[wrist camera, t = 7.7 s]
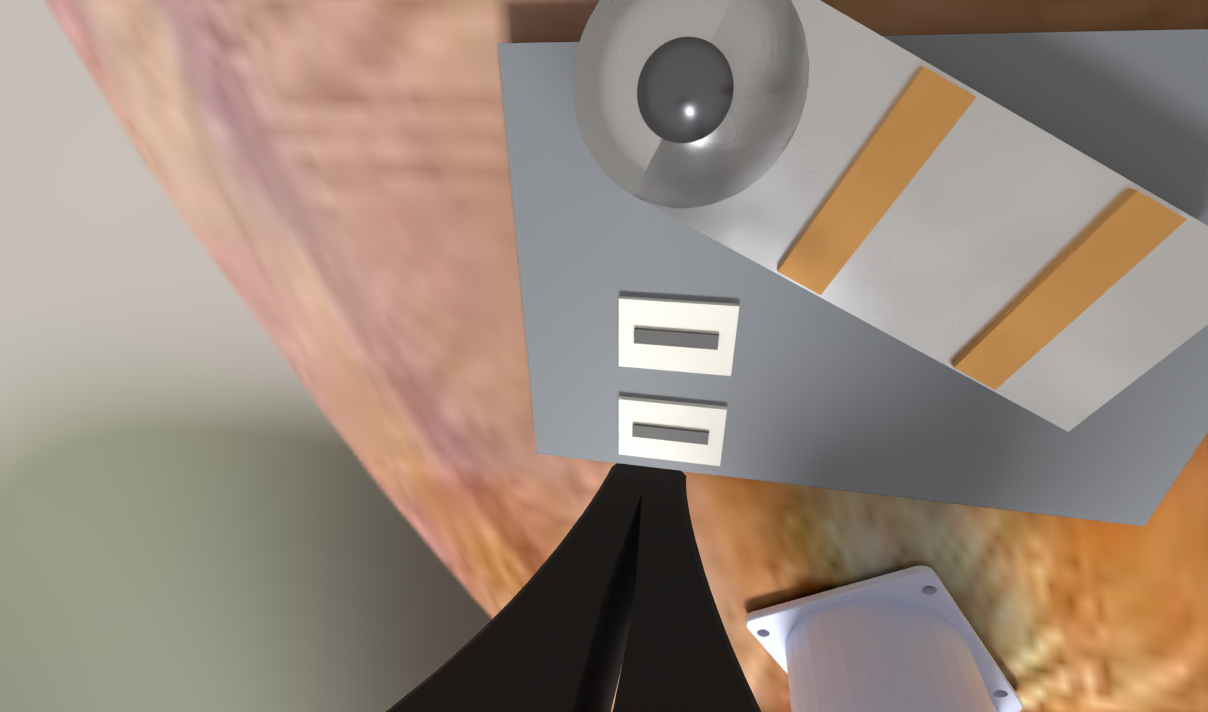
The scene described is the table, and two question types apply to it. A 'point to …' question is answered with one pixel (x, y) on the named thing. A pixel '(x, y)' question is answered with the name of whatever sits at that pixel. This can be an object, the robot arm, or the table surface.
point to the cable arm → (892, 193)
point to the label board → (830, 334)
